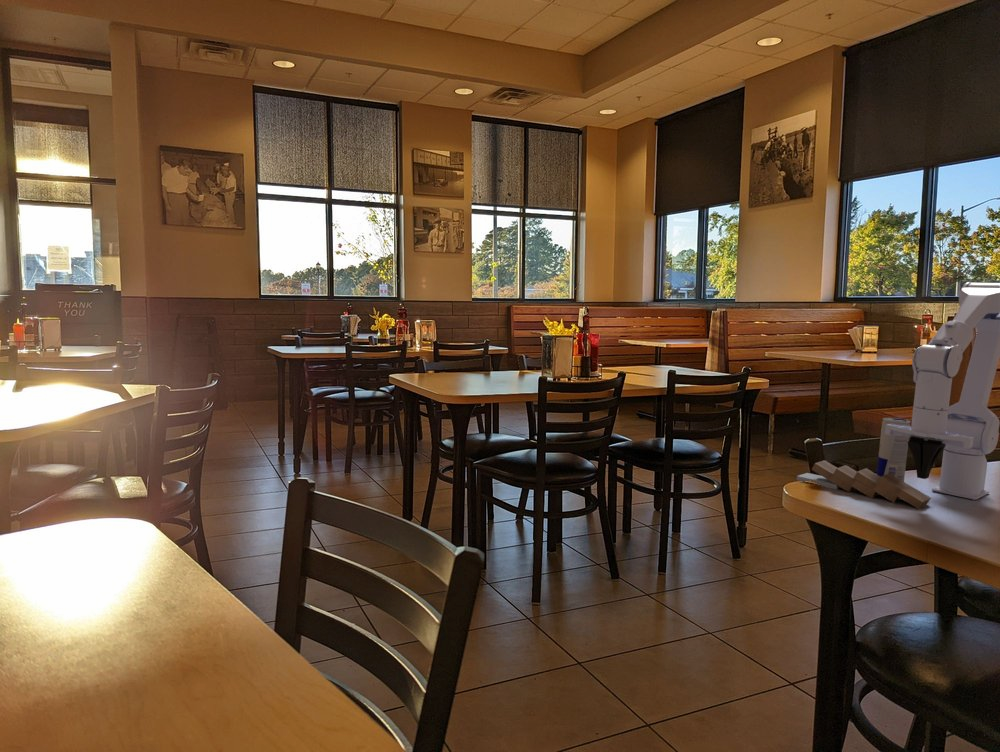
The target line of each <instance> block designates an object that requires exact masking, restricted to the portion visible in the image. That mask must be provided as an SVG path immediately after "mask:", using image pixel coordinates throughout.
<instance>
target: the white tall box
mask: <svg viewBox="0 0 1000 752" xmlns="http://www.w3.org/2000/svg"><path fill="white" fill-rule="evenodd" d="M910 423H911V420H909V419H904V418H899V417H898V418H897V417H883V418H882V421H881V428H880V440H879V447H878V448H879V449H878V457H877V458H878V459H877V468H876V474H877V475H879V476H880V477H882V476H884V475H887V474H889V473H890V474H891V475H893V476H895V477H896V478H898V479H900V480H901V481H903V482H905V477H906V476H905V474H906V466H907V460H908V459H907V458H908V450H909V446H908V441H910V438H908V437H902V436H896V435H886V434H885V427H886V425H887V424H893V425H901V426H910V427H911V424H910Z"/></svg>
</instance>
